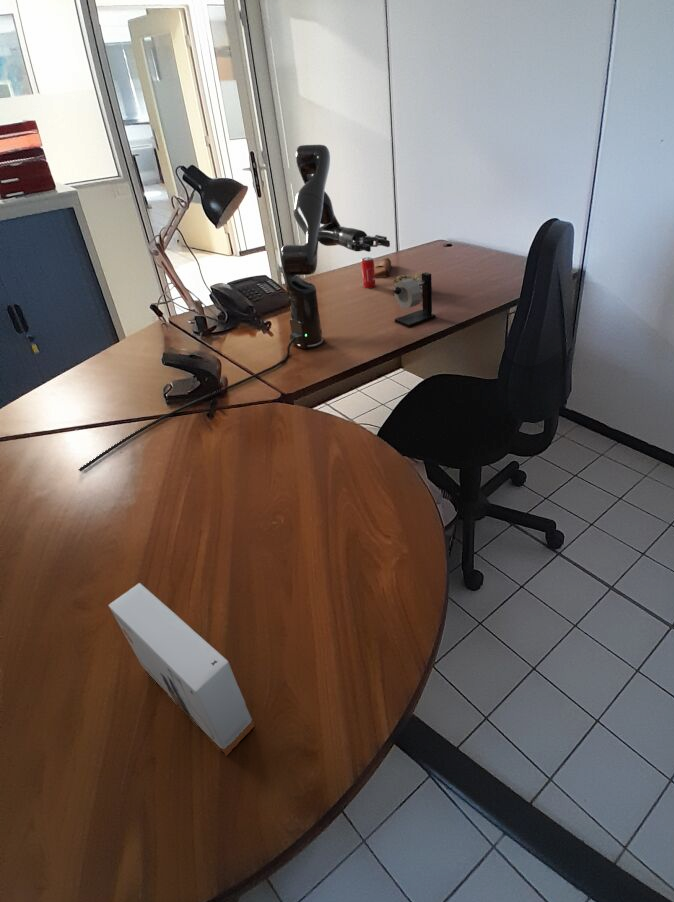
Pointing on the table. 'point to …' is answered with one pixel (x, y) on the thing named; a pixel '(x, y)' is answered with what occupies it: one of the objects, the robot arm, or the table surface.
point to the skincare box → (183, 664)
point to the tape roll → (408, 293)
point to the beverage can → (368, 272)
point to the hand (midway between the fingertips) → (379, 246)
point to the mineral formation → (417, 278)
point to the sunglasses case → (382, 268)
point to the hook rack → (423, 314)
